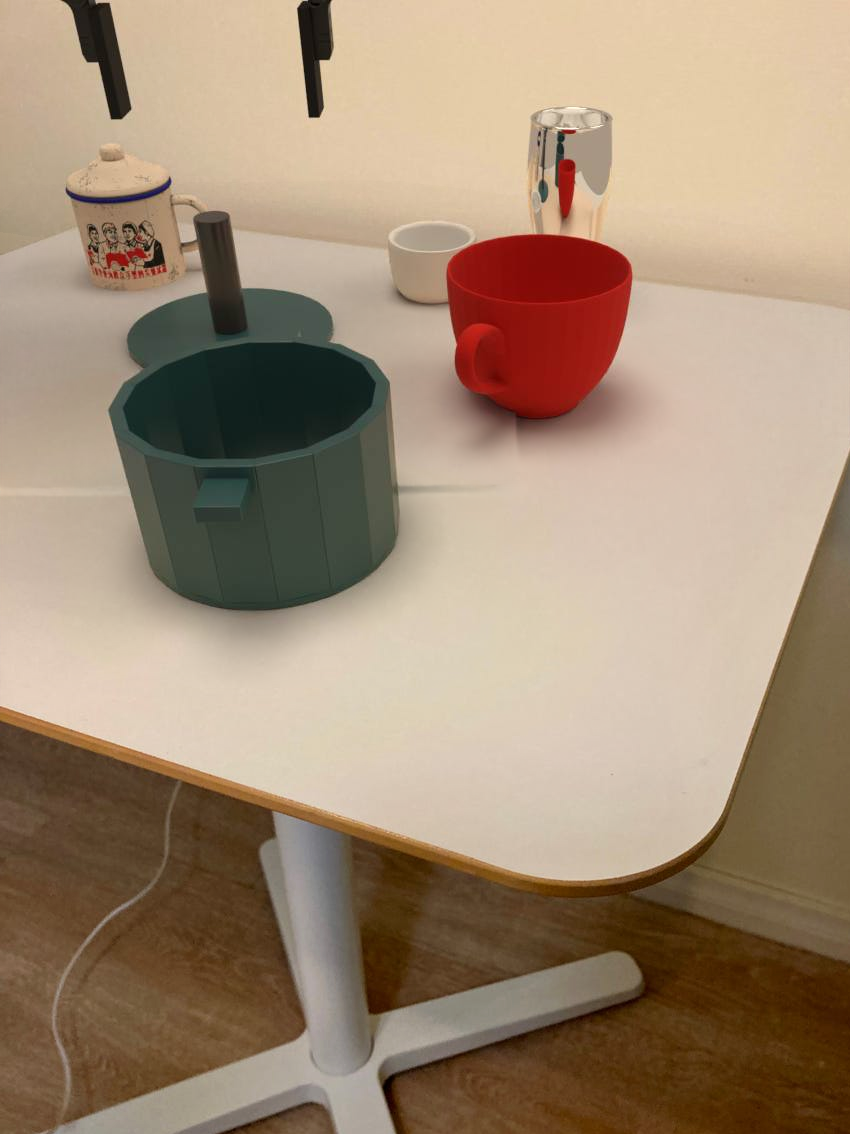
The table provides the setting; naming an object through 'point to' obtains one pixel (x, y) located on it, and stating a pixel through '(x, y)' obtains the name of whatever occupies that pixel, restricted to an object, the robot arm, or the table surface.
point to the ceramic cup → (537, 319)
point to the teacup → (426, 257)
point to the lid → (222, 304)
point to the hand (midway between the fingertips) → (219, 114)
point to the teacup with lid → (129, 221)
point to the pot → (261, 468)
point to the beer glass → (569, 171)
